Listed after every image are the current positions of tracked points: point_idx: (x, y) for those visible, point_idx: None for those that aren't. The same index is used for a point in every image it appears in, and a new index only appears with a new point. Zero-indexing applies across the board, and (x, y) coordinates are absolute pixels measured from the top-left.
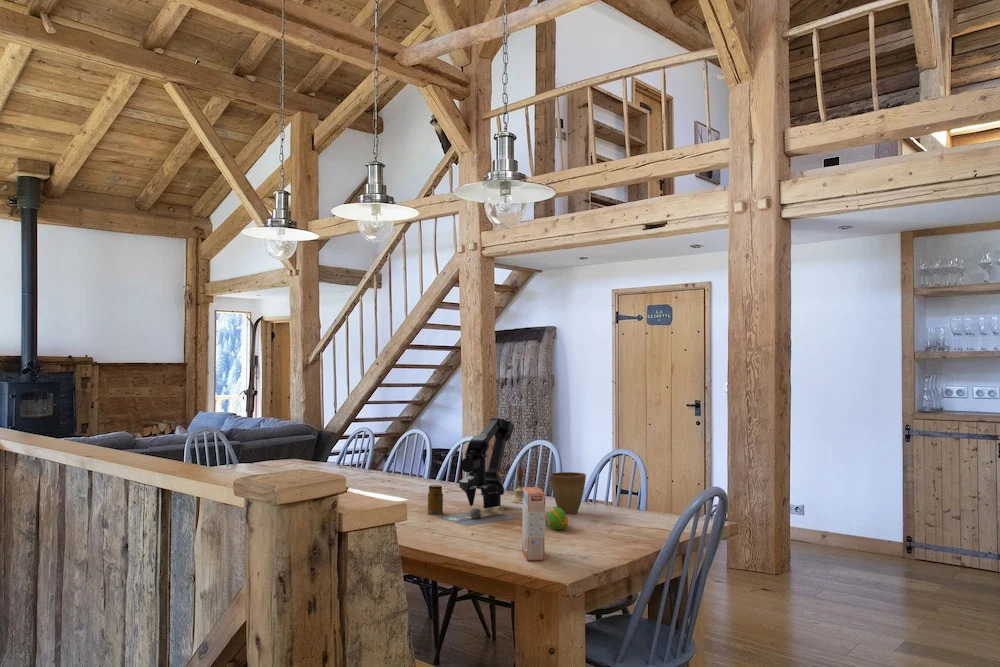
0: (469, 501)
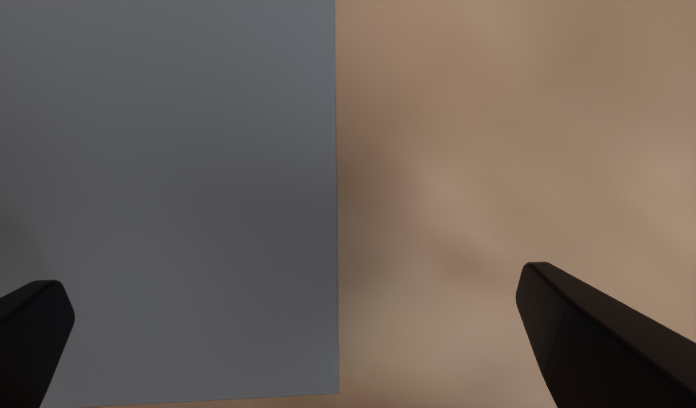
0: (604, 315)
